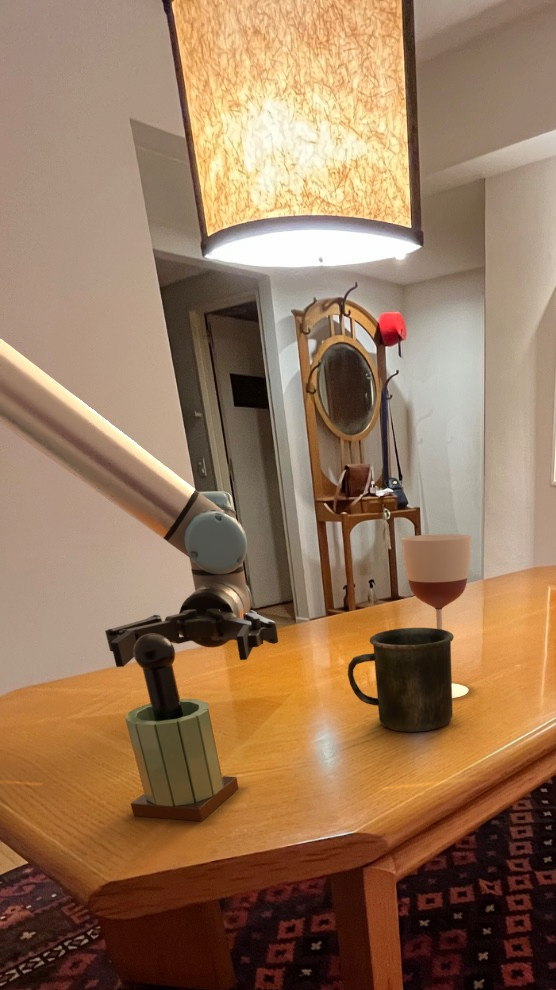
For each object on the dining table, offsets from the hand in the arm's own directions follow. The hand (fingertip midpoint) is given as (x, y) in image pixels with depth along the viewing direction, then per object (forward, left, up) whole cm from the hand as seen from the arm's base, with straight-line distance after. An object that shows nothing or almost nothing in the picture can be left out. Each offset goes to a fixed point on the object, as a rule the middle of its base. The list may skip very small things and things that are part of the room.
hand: (179, 651), depth 76 cm
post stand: (+3, -9, -14) cm, 17 cm away
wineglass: (+22, +34, -15) cm, 43 cm away
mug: (+20, +19, -15) cm, 31 cm away
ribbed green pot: (+3, -9, -13) cm, 16 cm away
